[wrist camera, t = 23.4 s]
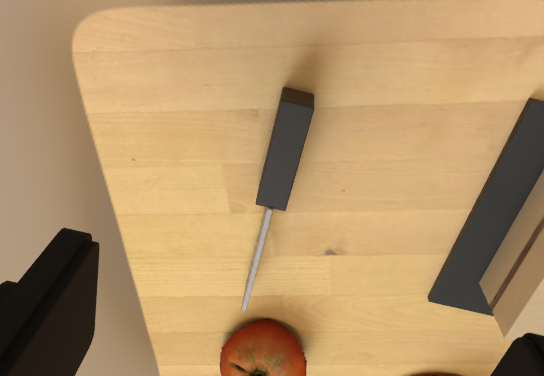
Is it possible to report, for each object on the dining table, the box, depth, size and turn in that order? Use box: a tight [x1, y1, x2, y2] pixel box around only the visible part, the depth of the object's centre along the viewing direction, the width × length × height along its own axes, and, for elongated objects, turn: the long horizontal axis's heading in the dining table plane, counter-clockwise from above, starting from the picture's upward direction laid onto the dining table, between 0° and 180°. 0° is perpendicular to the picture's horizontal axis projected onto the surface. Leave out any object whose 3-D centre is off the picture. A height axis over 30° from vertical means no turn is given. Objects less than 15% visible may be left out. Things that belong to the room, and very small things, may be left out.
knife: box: [241, 87, 314, 312], centre depth 36 cm, size 18×2×3 cm, turn 167°
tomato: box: [220, 319, 307, 376], centre depth 44 cm, size 8×7×7 cm
